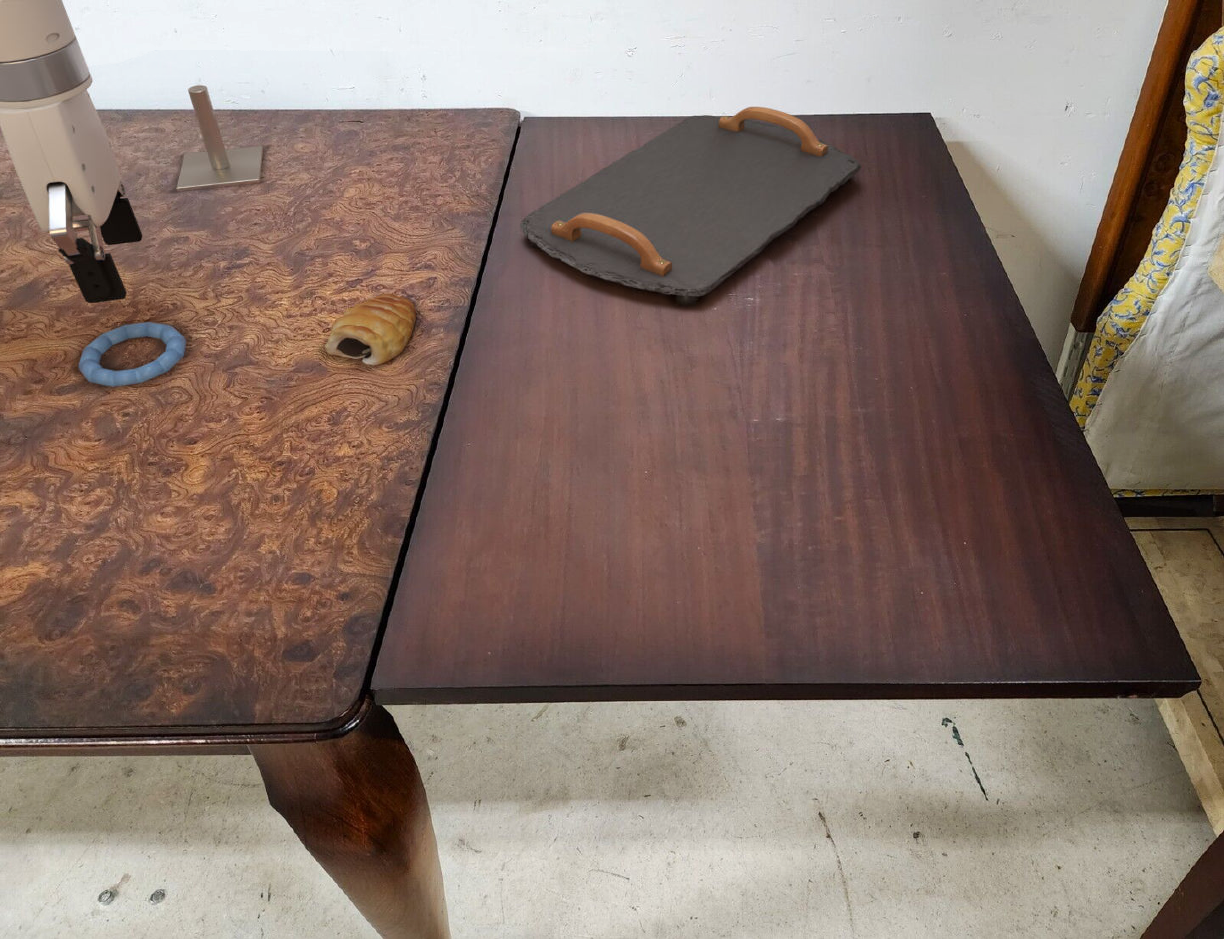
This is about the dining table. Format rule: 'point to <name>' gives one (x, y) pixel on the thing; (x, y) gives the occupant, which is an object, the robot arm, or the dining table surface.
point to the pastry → (373, 329)
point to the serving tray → (692, 202)
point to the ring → (133, 376)
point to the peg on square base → (216, 153)
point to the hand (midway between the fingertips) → (116, 269)
